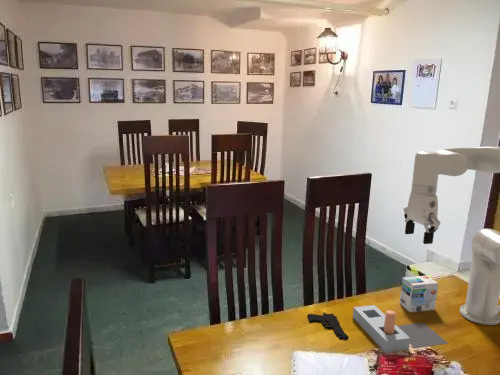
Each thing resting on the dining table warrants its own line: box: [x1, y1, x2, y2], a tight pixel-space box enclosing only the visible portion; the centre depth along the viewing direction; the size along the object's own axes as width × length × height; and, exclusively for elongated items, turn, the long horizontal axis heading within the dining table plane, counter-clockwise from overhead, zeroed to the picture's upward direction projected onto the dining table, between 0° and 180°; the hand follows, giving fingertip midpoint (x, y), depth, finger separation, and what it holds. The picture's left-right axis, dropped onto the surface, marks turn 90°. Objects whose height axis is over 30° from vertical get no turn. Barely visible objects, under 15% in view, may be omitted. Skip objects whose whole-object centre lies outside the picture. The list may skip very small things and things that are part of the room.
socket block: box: [352, 304, 411, 353], centre depth 126 cm, size 8×20×4 cm, turn 14°
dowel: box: [384, 309, 397, 335], centre depth 121 cm, size 3×3×10 cm
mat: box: [397, 322, 449, 349], centre depth 126 cm, size 12×12×1 cm
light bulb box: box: [399, 275, 439, 313], centre depth 142 cm, size 11×7×11 cm, turn 102°
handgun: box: [307, 312, 349, 341], centre depth 130 cm, size 16×1×10 cm
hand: (418, 238), depth 132 cm, fingers open, 9 cm apart
